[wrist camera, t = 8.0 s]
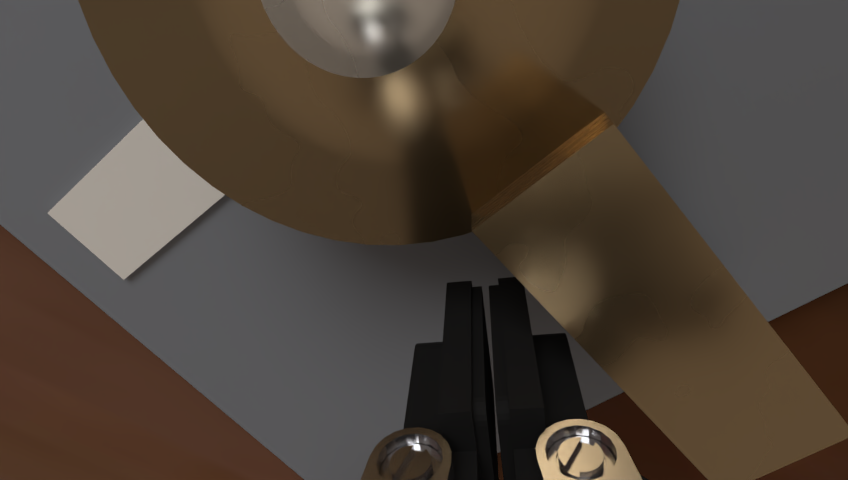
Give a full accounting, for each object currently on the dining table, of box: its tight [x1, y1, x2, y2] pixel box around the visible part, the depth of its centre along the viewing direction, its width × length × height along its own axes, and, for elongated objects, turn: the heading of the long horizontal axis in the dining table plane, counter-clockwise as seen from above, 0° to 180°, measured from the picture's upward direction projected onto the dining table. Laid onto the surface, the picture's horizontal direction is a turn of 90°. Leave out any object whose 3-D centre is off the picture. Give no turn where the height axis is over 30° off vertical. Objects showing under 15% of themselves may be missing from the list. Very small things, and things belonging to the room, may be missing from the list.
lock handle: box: [78, 0, 848, 480], centre depth 9 cm, size 14×8×4 cm, turn 42°
